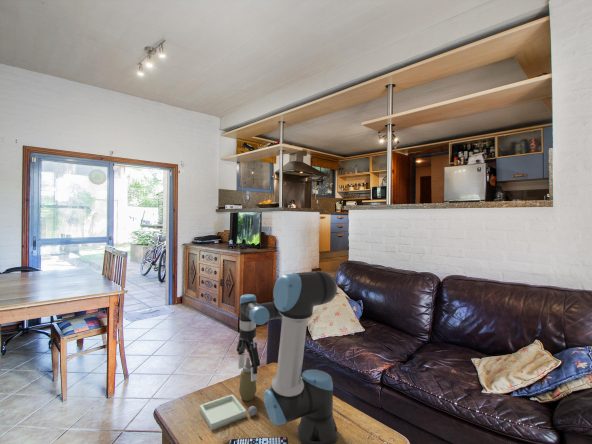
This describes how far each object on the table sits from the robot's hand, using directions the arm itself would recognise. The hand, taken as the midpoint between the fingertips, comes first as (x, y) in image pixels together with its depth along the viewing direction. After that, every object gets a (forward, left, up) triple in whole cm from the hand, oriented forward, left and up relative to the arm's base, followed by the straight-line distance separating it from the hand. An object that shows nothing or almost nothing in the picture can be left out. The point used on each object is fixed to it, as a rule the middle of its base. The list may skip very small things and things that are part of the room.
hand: (247, 373), depth 140 cm
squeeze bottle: (0, 0, -11) cm, 11 cm away
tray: (-5, +14, -11) cm, 18 cm away
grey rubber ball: (-13, +4, -11) cm, 18 cm away
